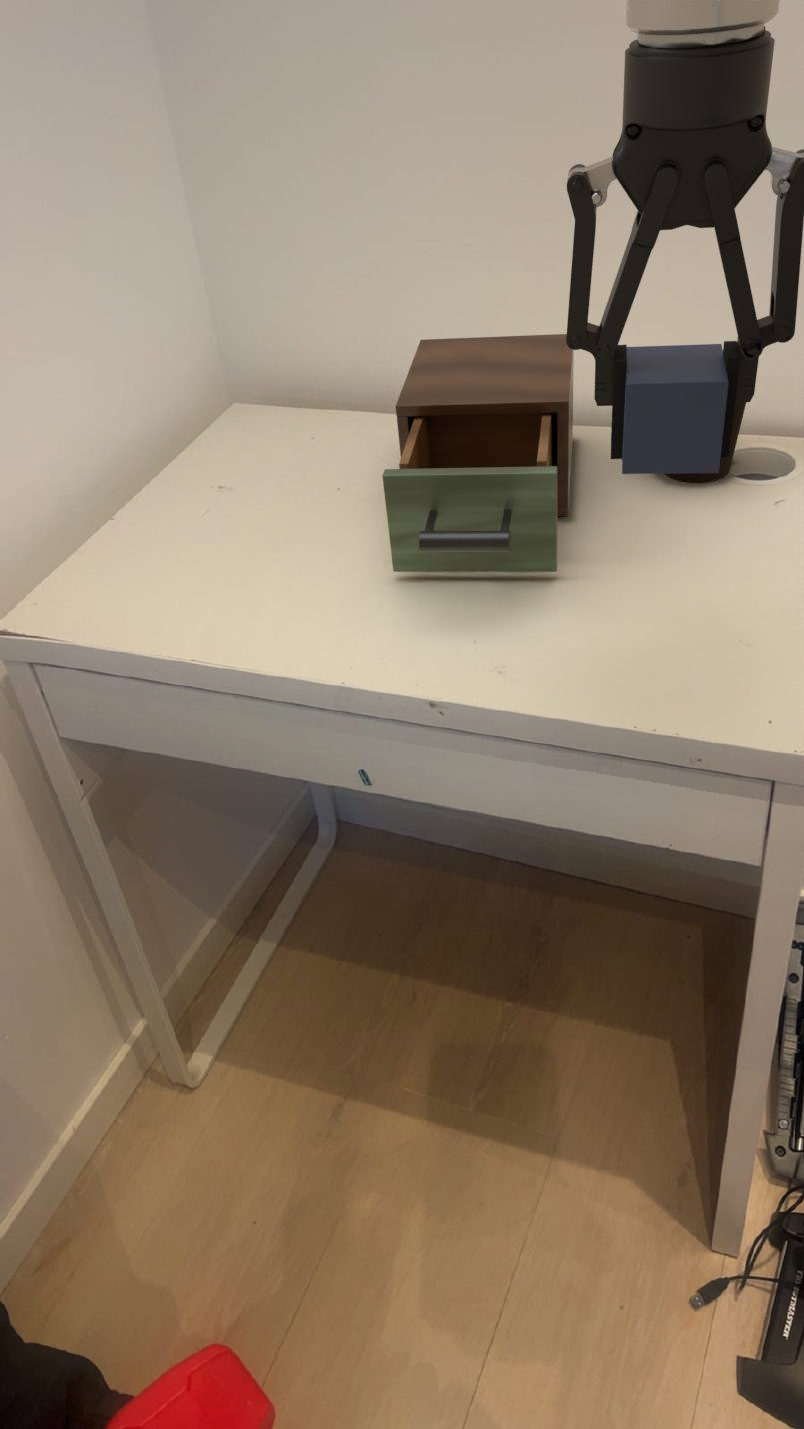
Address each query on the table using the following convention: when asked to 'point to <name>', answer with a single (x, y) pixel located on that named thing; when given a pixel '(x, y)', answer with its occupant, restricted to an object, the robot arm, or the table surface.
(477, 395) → the cabinet
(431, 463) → the drawer
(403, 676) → the table surface
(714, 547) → the table surface
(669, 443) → the block
